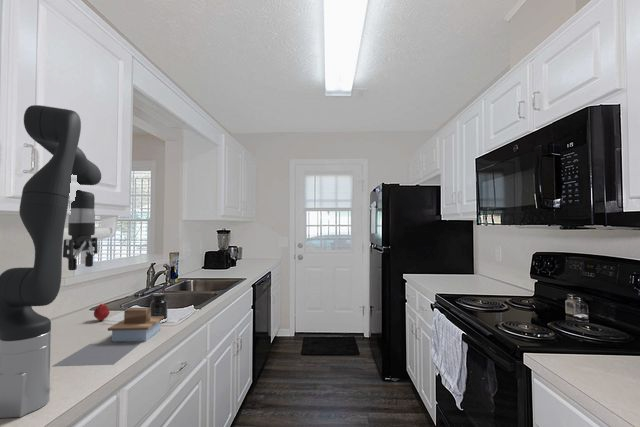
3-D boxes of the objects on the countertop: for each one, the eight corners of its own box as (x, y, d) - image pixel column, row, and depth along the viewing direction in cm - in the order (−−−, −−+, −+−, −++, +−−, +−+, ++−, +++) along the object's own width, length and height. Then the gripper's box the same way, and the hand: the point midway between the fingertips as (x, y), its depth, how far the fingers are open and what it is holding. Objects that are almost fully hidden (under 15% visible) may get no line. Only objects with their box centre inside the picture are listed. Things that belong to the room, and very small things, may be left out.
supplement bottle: (170, 319, 145) (170, 293, 145) (160, 324, 138) (160, 296, 139) (157, 319, 146) (157, 292, 147) (146, 323, 140) (146, 295, 140)
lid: (147, 329, 117) (147, 313, 117) (107, 330, 116) (107, 314, 116) (163, 318, 131) (163, 303, 131) (128, 318, 130) (128, 304, 130)
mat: (113, 366, 99) (113, 364, 99) (51, 367, 98) (51, 366, 98) (141, 343, 117) (141, 342, 117) (90, 345, 116) (90, 343, 116)
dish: (146, 342, 118) (146, 328, 118) (112, 343, 117) (112, 329, 117) (160, 331, 130) (160, 318, 130) (129, 332, 129) (129, 319, 129)
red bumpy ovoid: (112, 319, 146) (112, 301, 146) (100, 323, 140) (101, 304, 140) (102, 318, 147) (102, 300, 147) (90, 322, 142) (90, 303, 142)
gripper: (79, 221, 106) (78, 271, 105) (105, 221, 120) (104, 265, 120) (55, 221, 105) (54, 271, 105) (84, 221, 119) (83, 265, 119)
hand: (81, 268), depth 112 cm, fingers open, 8 cm apart
